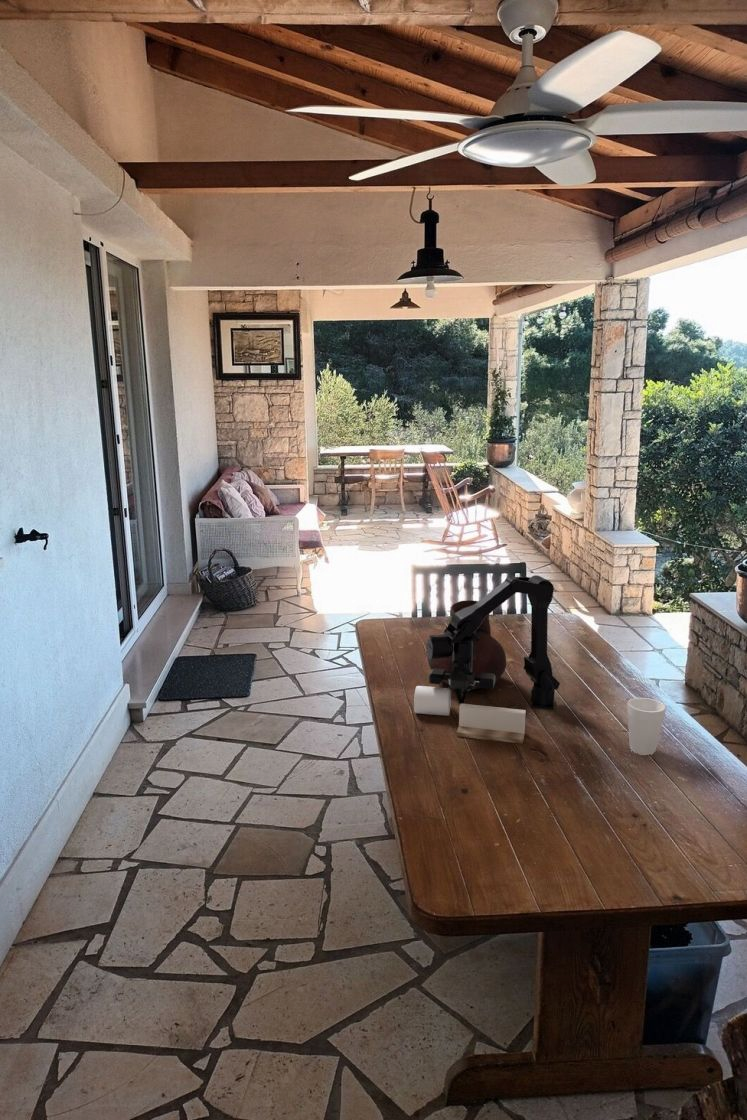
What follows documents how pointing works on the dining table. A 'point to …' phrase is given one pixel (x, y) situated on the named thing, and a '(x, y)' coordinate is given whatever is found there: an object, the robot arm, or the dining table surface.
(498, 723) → the screen
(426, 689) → the mug
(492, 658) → the jug
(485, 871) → the dining table surface
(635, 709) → the foam cup
